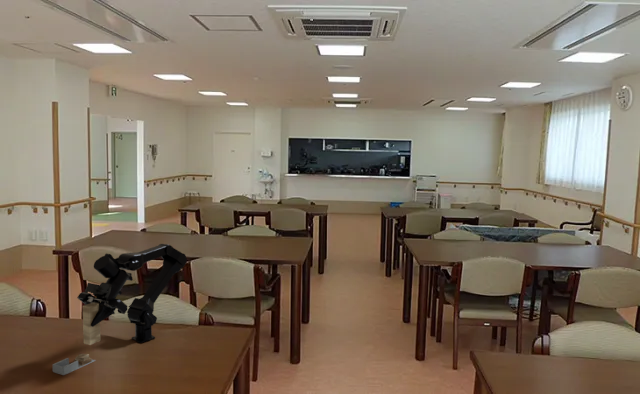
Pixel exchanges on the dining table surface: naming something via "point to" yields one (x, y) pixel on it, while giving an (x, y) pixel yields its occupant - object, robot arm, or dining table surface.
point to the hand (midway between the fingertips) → (88, 325)
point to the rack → (66, 366)
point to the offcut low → (84, 361)
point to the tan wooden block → (89, 332)
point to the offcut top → (82, 357)
